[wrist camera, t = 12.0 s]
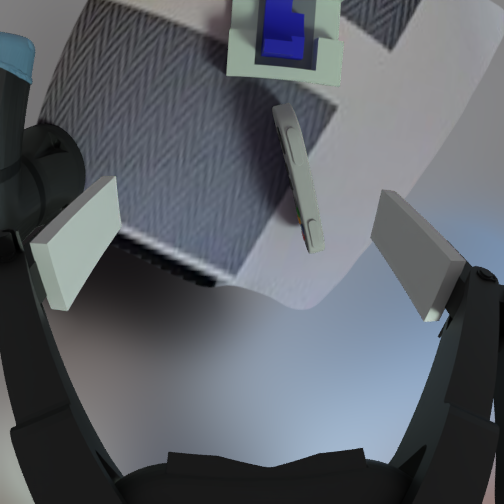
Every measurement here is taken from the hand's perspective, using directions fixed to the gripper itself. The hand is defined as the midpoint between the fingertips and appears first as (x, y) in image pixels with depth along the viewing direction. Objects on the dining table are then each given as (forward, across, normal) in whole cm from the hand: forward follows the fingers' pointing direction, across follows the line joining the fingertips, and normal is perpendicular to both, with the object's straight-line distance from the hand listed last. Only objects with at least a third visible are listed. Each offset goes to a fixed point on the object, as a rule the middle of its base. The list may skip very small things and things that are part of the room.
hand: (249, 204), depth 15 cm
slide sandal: (+27, +7, -6) cm, 29 cm away
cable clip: (+26, +4, +15) cm, 30 cm away
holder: (+27, +4, +15) cm, 31 cm away
